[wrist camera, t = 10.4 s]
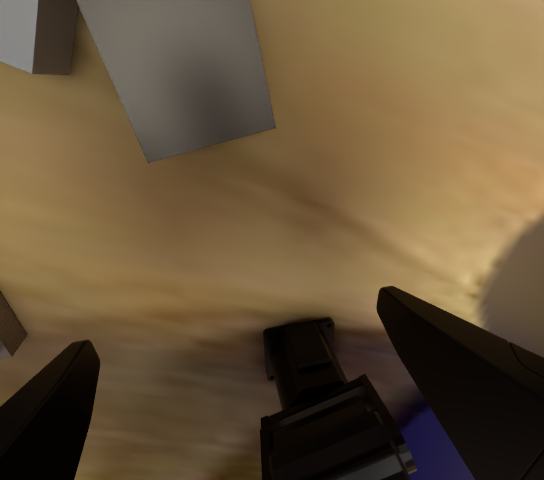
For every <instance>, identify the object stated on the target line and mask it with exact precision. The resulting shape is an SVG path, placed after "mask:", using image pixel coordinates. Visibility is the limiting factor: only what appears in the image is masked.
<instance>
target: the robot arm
mask: <svg viewBox="0 0 544 480" xmlns="http://www.w3.org/2000/svg"><path fill="white" fill-rule="evenodd" d="M377 313H378V315H379V317H380V319H381V321H382V323H383V325H384V327H385V329H386V331H387V334H388V336H389V338H390V340H391V342H392V344H393V346H394V348H395V350H396V352H397V354H398V355H399V357H400V359H401V361H402V362H403V364H404V365H405V367H406V369H407V370H408V372H409V373H410V375H411V377H412V378H413V380H414V382H415V383H416V385H417V386H418V388H419V390H420V391H421V393H422V394H423V396H424V398H425V399H426V401H427V402H428V404H429V406H430V407H431V409H432V411H433V412H434V414H435V415H436V417H437V419H438V420H439V422H440V423H441V425H442V427H443V428H444V430H445V431H446V433H447V435H448V436H449V438H450V439H451V441H452V443H453V444H454V446H455V448H456V449H457V451H458V453H459V454H460V456H461V457H462V459H463V461H464V462H465V464H466V465H467V467H468V469H469V470H470V472H471V473H472V475H473V477H474V478H475V480H544V357H541V356H539V355H537V354H535V353H533V352H531V351H528V350H526V349H524V348H522V347H520V346H518V345H516V344H514V343H512V342H508V341H507V340H505V339H503V338H501V337H499V336H497V335H495V334H493V333H491V332H488V331H486V330H484V329H482V328H480V327H478V326H476V325H474V324H472V323H470V322H468V321H465V320H463V319H461V318H459V317H457V316H455V315H453V314H451V313H449V312H447V311H444V310H442V309H440V308H438V307H436V306H434V305H432V304H430V303H428V302H426V301H423V300H421V299H419V298H417V297H415V296H413V295H411V294H409V293H407V292H405V291H402V290H400V289H398V288H396V287H394V286H387V287H382V288H380V290H379V294H378V300H377ZM268 335H269V336H268ZM263 338H264V350H265V361H266V373H267V379H268V380H269V381H275V382H276V386H277V390H278V394H279V398H280V403H281V407H282V411H280V412H278V413H275V414H273V415H271V416H265V417H263V418H261V430H260V440H261V464H262V480H411V479H410V477H409V475H408V474H410V473H412V472H415V471H416V470H417V469H416V465H415V463H414V460H413V458H412V455H411V453H410V451H409V449H408V447H407V444H406V443H405V441H404V438H403V436H402V434H401V433H400V431H399V429H398V427H397V425H396V423H395V421H394V420H393V418H392V416H391V415H390V413H389V411H388V410H387V408H386V406H385V405H384V403H383V402H382V400H381V398H380V397H379V395H378V394H377V392H376V390H375V389H374V387H373V386H372V384H371V382H370V381H369V379H368V378H367V376H366V374H363V375H361V376H359V378H357V379H355V380H353V381H350V382H348V381H347V379H346V377H345V375H344V373H343V371H342V369H341V367H340V364H339V362H338V360H337V358H336V356H335V354H334V352H333V338H334V322H333V320H332V319H331V318H327V319H322V320H316V321H311V322H306V323H300V324H295V325H290V326H284V327H279V328H274V329H268V330H266V331H265V332H264V333H263ZM99 370H100V359H99V357H98V355H97V352H96V350H95V348H94V346H93V344H92V342H91V341H90V340H81V341H75V342H73V343H71V344H70V345H69V346H68V347H67V348H65V349H64V350H63V351H62V352H61V353H60V354H59V355H58V356H57V357H55V358H54V359H53V360H52V361H51V362H50V363H49V364H48V365H46V366H45V367H44V368H43V369H42V370H41V371H40V372H39V373H38V374H36V375H35V376H34V377H33V378H32V379H31V380H30V381H29V382H28V383H26V384H25V385H24V386H23V387H22V388H21V389H20V390H19V391H17V392H16V393H15V394H14V395H13V396H12V397H11V398H10V399H9V400H7V401H6V402H5V403H4V404H3V405H2V406H1V407H0V480H74V478H75V475H76V471H77V468H78V464H79V461H80V457H81V454H82V450H83V447H84V443H85V440H86V436H87V432H88V429H89V425H90V421H91V416H92V411H93V405H94V399H95V394H96V388H97V382H98V376H99Z"/></svg>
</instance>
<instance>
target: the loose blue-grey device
mask: <svg viewBox="0 0 544 480" xmlns="http://www.w3.org/2000/svg"><path fill="white" fill-rule="evenodd" d="M77 14H78V3H77V1H76V0H0V62H3V63H5V64H8V65H10V66H13V67H16V68H18V69H21V70H23V71H26V72H29V73H31V74H51V75H70V68H71V60H72V52H73V45H74V37H75V29H76V22H77Z"/></svg>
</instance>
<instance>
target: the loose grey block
mask: <svg viewBox="0 0 544 480" xmlns="http://www.w3.org/2000/svg"><path fill="white" fill-rule="evenodd" d="M76 1H77V3H78V6H79V8H80V10H81V12H82V15H83V17H84V19H85V21H86V24H87V26H88V28H89V30H90V33H91V35H92V37H93V39H94V42H95V44H96V46H97V49H98V51H99V53H100V55H101V58H102V60H103V62H104V64H105V67H106V69H107V71H108V73H109V76H110V78H111V80H112V82H113V85H114V87H115V89H116V91H117V94H118V96H119V98H120V101H121V103H122V105H123V107H124V110H125V112H126V114H127V116H128V119H129V121H130V123H131V125H132V128H133V130H134V132H135V134H136V137H137V139H138V141H139V144H140V146H141V148H142V150H143V153H144V155H145V157H146V159H147V162H148V163H150V162H153V161H157V160H160V159H164V158H168V157H171V156H175V155H179V154H182V153H186V152H190V151H193V150H197V149H201V148H204V147H208V146H211V145H215V144H219V143H222V142H226V141H230V140H233V139H237V138H241V137H244V136H248V135H252V134H255V133H259V132H262V131H266V130H270V129H273V128H276V126H275V121H274V116H273V111H272V106H271V101H270V96H269V92H268V87H267V82H266V77H265V72H264V67H263V62H262V57H261V52H260V47H259V43H258V38H257V33H256V28H255V23H254V18H253V13H252V8H251V3H250V0H76Z"/></svg>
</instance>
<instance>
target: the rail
mask: <svg viewBox="0 0 544 480" xmlns="http://www.w3.org/2000/svg"><path fill="white" fill-rule="evenodd" d="M26 336H27V334H26V332H25V331H24V329H23V327H22V326H21V324H20V323H19V321H18V320H17V318H16V316H15V315H14V313H13V312H12V310H11V308H10V307H9V305H8V304H7V302H6V300H5V299H4V297H3V296H2V294H1V292H0V359H4V358H10V357H12V356H13V355H14V353H15V352H16V350H17V349H18V348H19V346H20V345H21V343H22V342H23V340H24V339H25V337H26Z"/></svg>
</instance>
